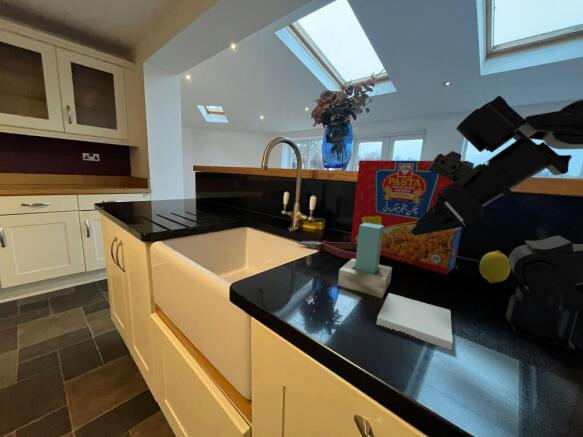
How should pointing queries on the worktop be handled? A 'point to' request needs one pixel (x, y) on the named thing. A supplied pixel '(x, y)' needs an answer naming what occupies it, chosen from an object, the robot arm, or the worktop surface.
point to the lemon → (494, 267)
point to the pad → (417, 320)
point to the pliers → (333, 248)
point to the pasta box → (404, 212)
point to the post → (369, 248)
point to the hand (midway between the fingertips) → (415, 229)
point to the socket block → (365, 279)
